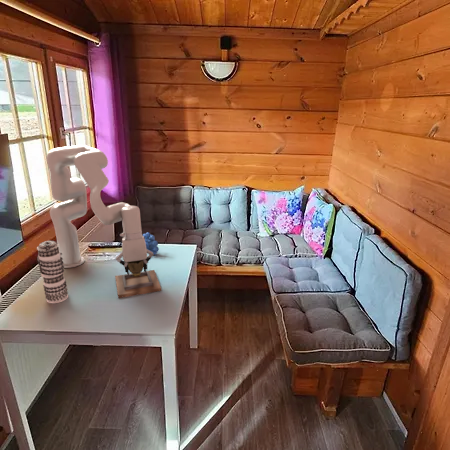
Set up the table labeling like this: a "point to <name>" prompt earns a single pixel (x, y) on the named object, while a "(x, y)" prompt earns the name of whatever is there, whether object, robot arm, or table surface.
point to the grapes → (151, 243)
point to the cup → (135, 267)
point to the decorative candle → (52, 272)
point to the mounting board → (137, 284)
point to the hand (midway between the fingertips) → (136, 271)
